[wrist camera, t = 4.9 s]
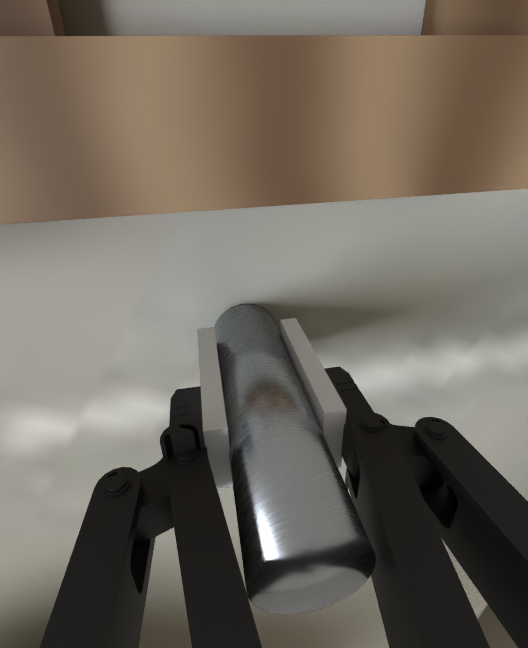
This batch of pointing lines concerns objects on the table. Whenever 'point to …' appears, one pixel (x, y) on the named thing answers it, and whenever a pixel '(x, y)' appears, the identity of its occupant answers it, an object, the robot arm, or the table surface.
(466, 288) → the table surface
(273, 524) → the pin
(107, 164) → the slot block
